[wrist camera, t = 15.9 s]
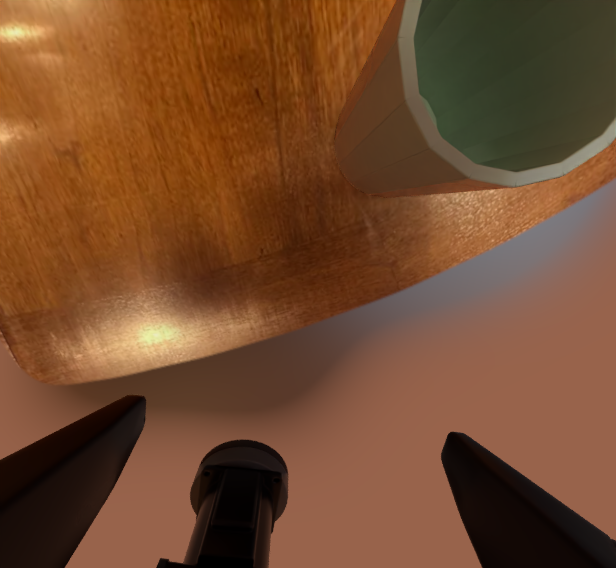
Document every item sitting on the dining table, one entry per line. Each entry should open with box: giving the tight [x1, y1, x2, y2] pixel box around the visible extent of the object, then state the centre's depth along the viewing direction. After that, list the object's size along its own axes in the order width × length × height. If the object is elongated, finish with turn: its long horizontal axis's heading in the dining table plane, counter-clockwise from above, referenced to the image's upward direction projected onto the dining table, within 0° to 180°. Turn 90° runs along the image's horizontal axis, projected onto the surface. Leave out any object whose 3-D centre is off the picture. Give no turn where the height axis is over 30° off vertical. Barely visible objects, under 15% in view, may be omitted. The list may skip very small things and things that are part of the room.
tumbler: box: [334, 0, 616, 198], centre depth 13 cm, size 7×7×12 cm
